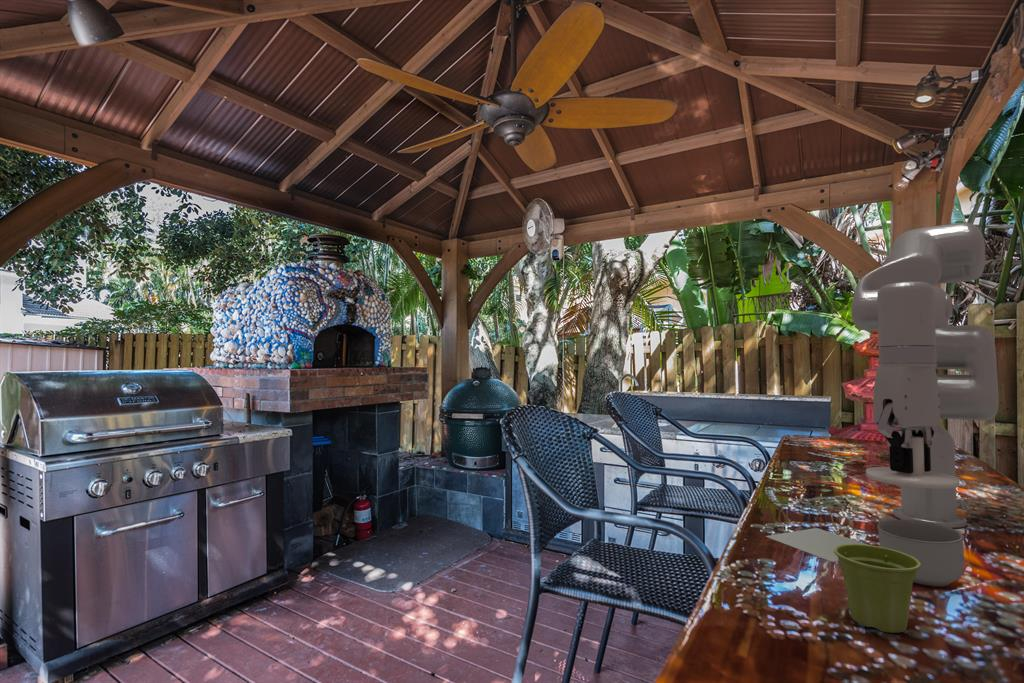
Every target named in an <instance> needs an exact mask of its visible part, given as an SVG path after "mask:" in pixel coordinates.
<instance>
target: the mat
mask: <svg viewBox="0 0 1024 683" xmlns="http://www.w3.org/2000/svg"><path fill="white" fill-rule="evenodd" d="M765 538H768V539H770V540H773V541H776V542H778V543H781V544H784V545H786V546H789V547H791V548H795V549H797V550H800V551H803V552H805V553H808V554H811V555H813V556H816V557H818V558H821V559H824V560H826V561H828V562H831V563H835V562H839V560H838V556H837V555H836V554H835V553H834V548H835V547H836V546H839V545H843V544H863V545H869V543H868V544H867V543H864V542H861V541H858V540H856V539H851V538H849V537H846V536H843V535H840V534H837V533H834V532H831V531H828V530H824V529H822V528H818V527H813V528H807V529H802V530H795V531H788V532H783V533H777V534H771V535H770V534H769V535H765Z"/></svg>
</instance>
